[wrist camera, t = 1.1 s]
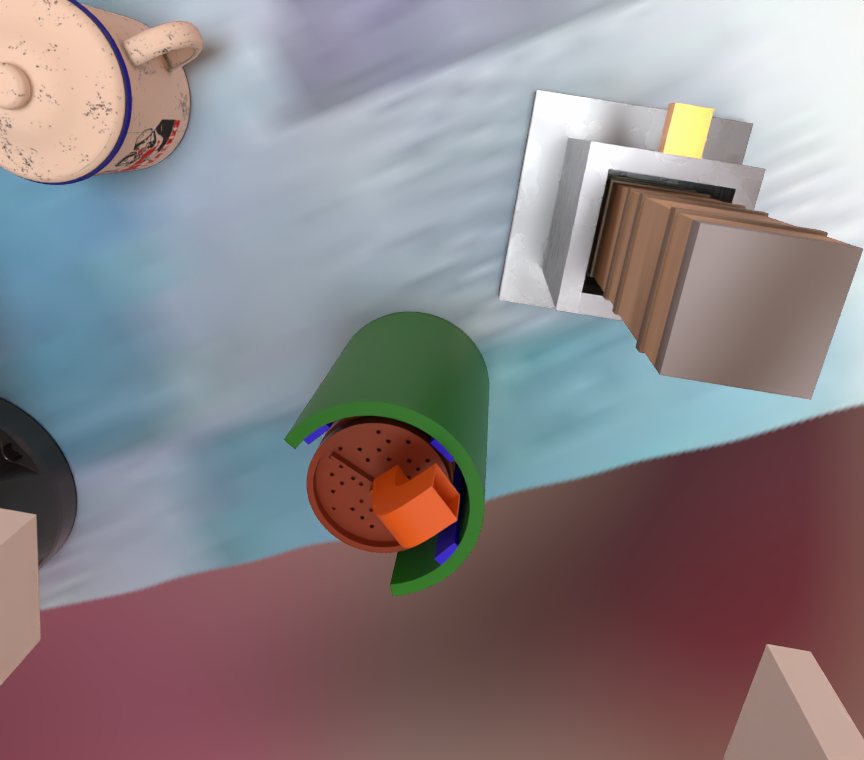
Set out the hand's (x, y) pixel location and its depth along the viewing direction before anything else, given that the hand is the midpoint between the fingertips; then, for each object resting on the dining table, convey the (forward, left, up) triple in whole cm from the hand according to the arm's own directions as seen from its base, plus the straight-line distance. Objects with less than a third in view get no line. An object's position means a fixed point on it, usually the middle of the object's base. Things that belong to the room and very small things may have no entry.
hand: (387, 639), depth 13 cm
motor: (-2, -8, -35) cm, 36 cm away
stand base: (+9, +5, -35) cm, 36 cm away
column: (+9, +5, -33) cm, 34 cm away
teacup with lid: (-21, +8, -35) cm, 41 cm away
